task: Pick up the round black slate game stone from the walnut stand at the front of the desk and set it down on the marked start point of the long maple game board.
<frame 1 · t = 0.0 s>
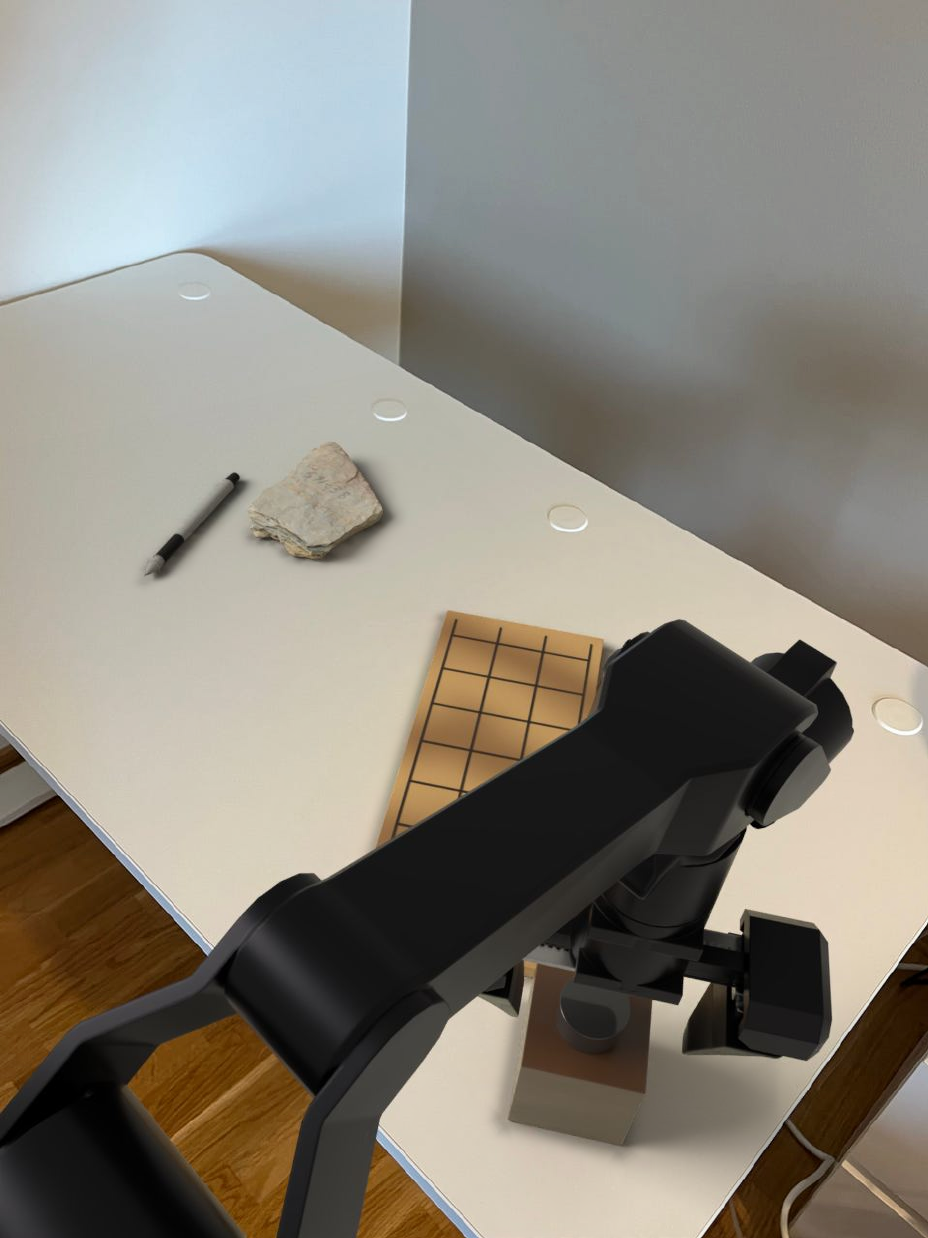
hand: (600, 1026, 57), 12 cm above the table, tool pointing down, fingers open, 9 cm apart
pen: (194, 528, 102), on the table
stone stand: (571, 1077, 67), on the table
stone: (310, 514, 105), on the table
board: (492, 774, 84), on the table
game stone: (589, 1020, 62), point 8 cm above the table, touching stone stand
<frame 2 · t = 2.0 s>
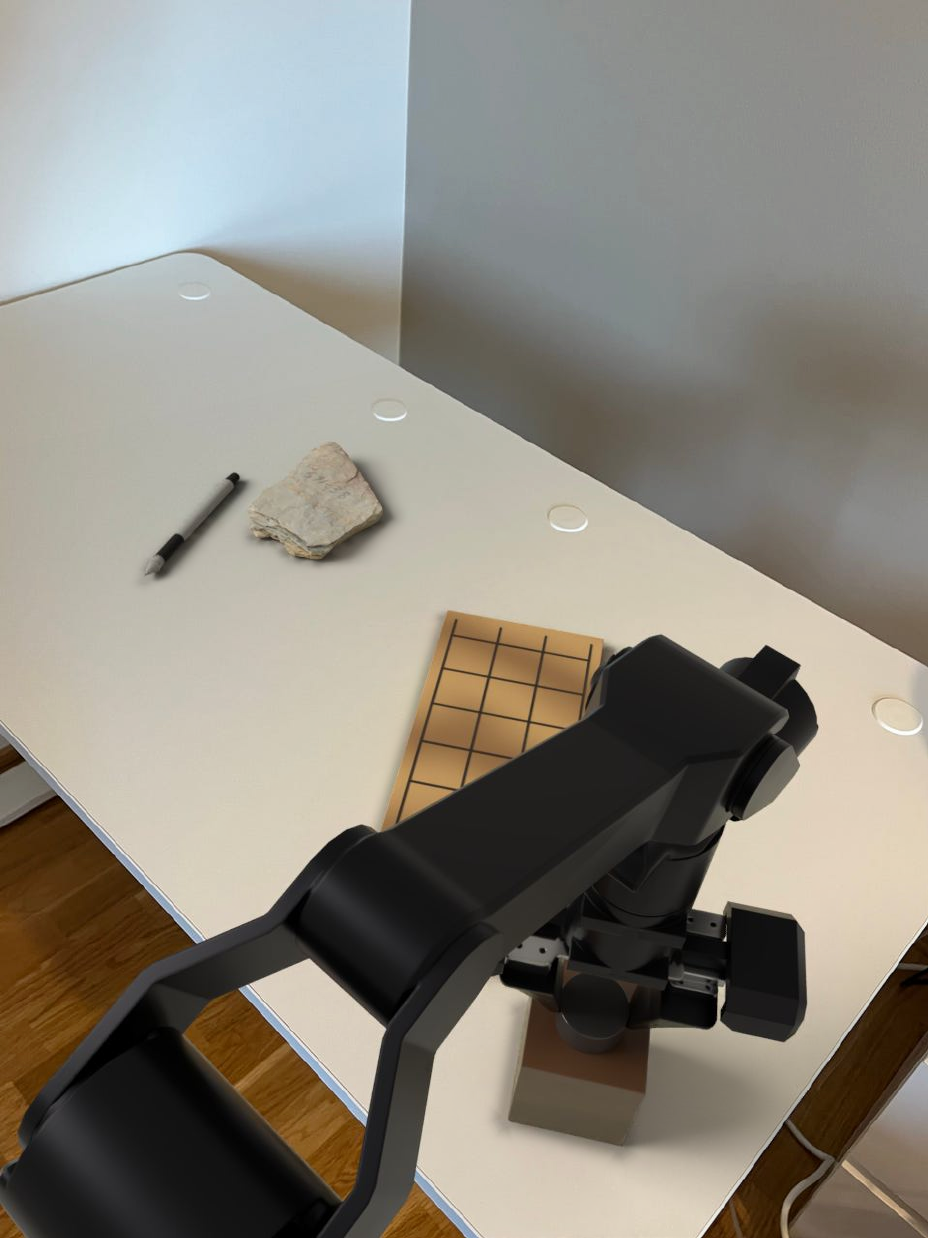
hand: (592, 1012, 61), 9 cm above the table, tool pointing down, fingers closed on game stone, 4 cm apart
game stone: (589, 1020, 62), point 8 cm above the table, touching gripper, stone stand
everything else where it was.
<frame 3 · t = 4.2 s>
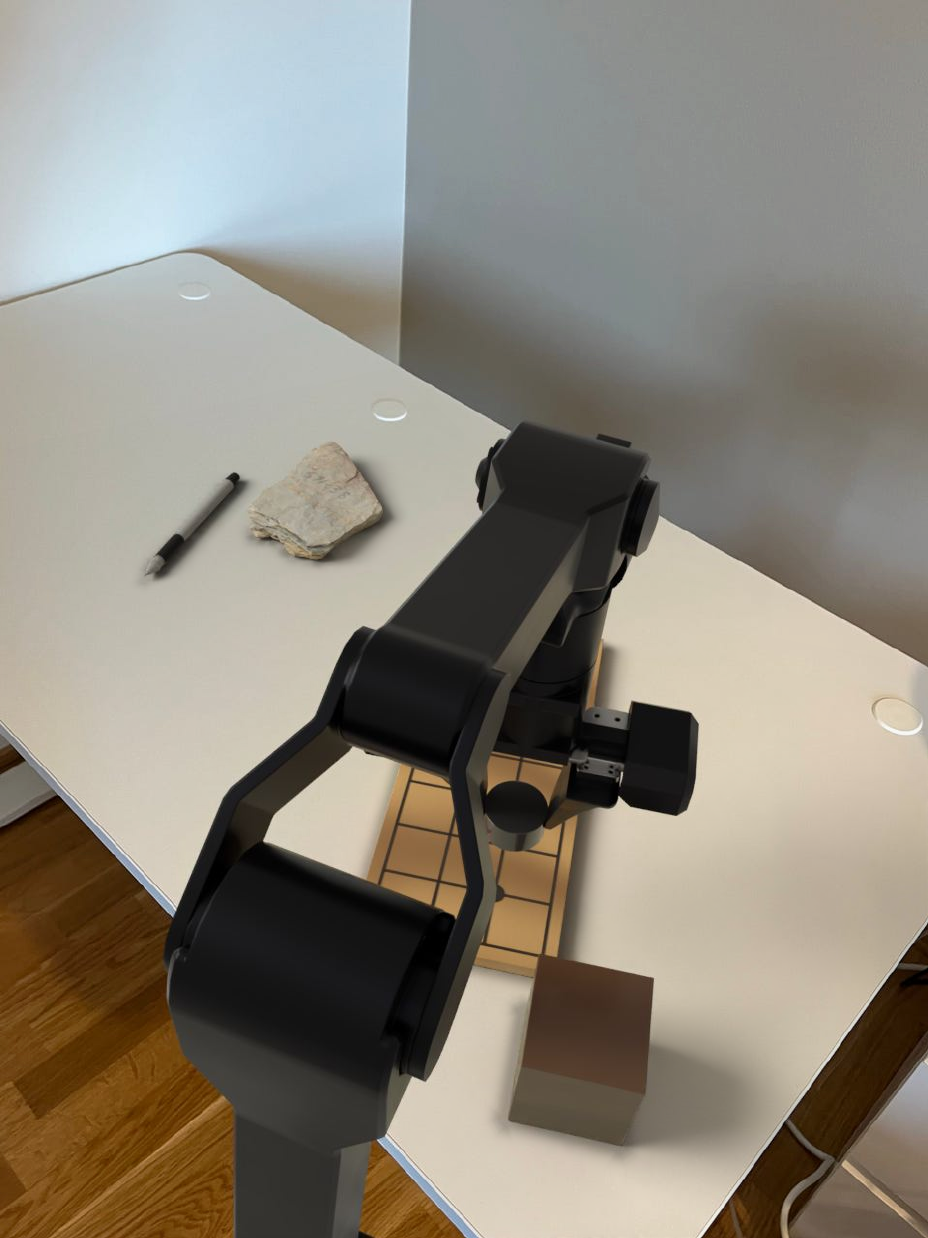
hand: (515, 816, 67), 12 cm above the table, tool pointing down, fingers closed on game stone, 4 cm apart
game stone: (513, 825, 67), point 11 cm above the table, touching gripper
everything else where it was.
when the fingers open (2 cm above the table, at t = 6.7 s): game stone stays where it is, resting on board.
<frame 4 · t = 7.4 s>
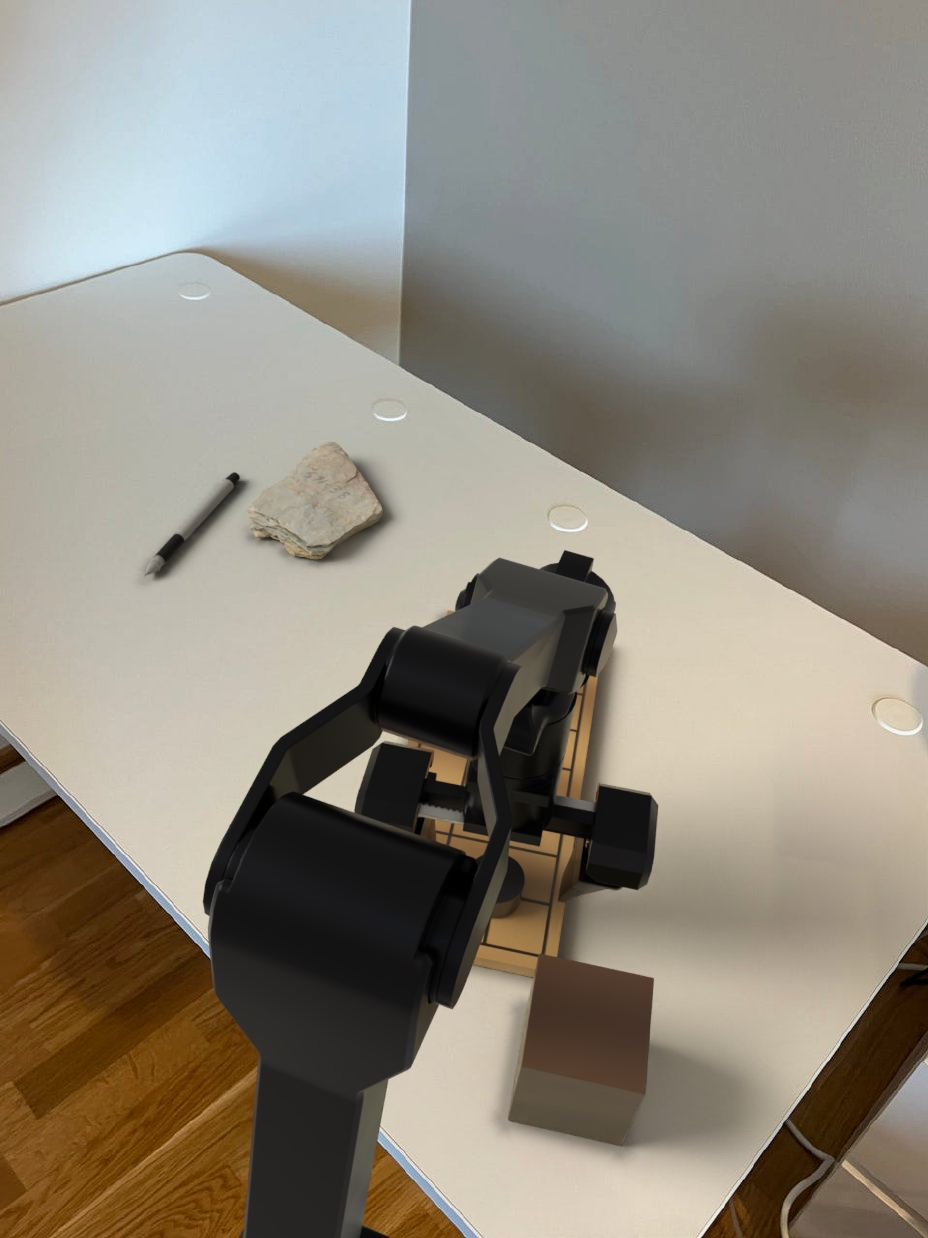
hand: (495, 882, 74), 3 cm above the table, tool pointing down, fingers open, 9 cm apart
game stone: (493, 892, 75), point 1 cm above the table, touching board
everything else where it was.
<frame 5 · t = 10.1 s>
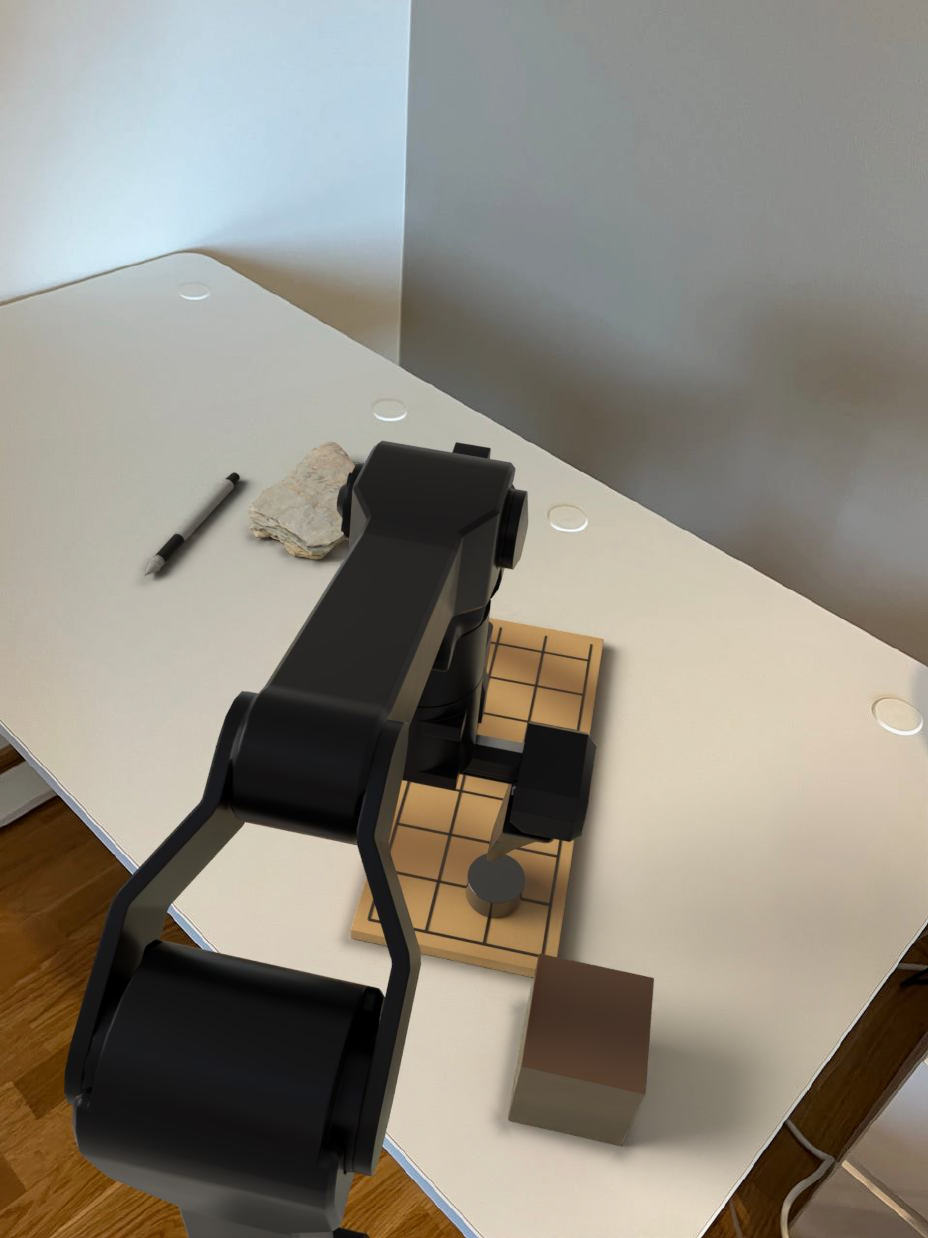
hand: (416, 839, 65), 12 cm above the table, tool pointing down, fingers open, 9 cm apart
nothing on the table moved.
at the end: game stone 0.0 cm from the target spot on the board, point 1.3 cm above the board's base; game stone tilted 0°; the gripper is holding nothing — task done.
